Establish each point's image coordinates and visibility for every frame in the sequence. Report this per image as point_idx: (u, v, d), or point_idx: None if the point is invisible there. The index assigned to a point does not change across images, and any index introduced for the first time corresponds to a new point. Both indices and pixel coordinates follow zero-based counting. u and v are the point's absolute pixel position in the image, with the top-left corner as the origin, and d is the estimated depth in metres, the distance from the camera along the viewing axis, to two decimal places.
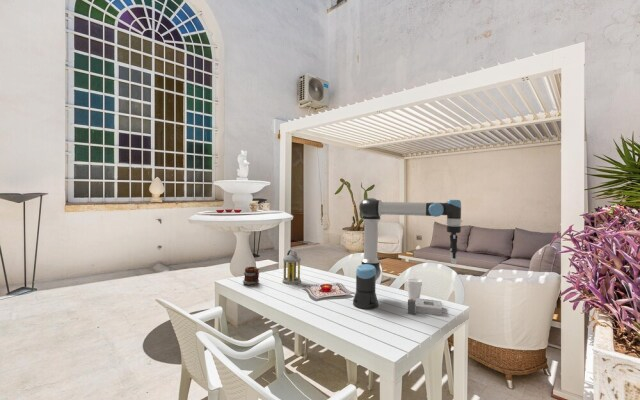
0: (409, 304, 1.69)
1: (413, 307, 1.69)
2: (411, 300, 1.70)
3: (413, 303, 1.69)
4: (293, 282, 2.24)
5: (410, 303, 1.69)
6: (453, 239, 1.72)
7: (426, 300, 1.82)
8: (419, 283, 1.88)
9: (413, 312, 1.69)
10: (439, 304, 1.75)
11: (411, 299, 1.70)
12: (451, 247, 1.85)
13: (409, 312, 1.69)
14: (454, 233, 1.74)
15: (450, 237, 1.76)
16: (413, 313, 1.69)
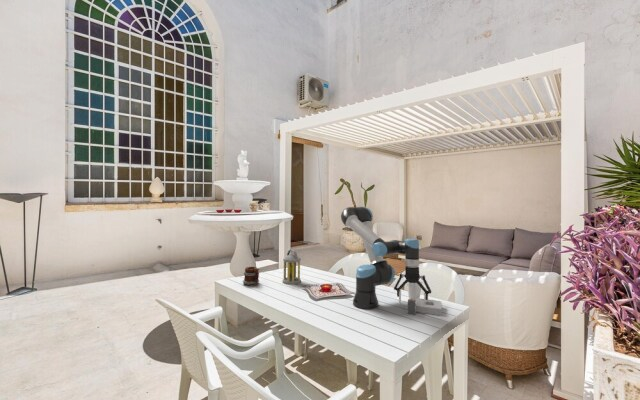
0: (409, 304, 1.69)
1: (413, 307, 1.68)
2: (411, 300, 1.70)
3: (413, 303, 1.68)
4: (293, 282, 2.24)
5: (410, 303, 1.69)
6: None
7: (426, 300, 1.82)
8: None
9: (413, 312, 1.69)
10: (439, 304, 1.75)
11: (411, 299, 1.70)
12: None
13: (409, 312, 1.69)
14: (405, 273, 1.72)
15: None
16: (413, 313, 1.69)
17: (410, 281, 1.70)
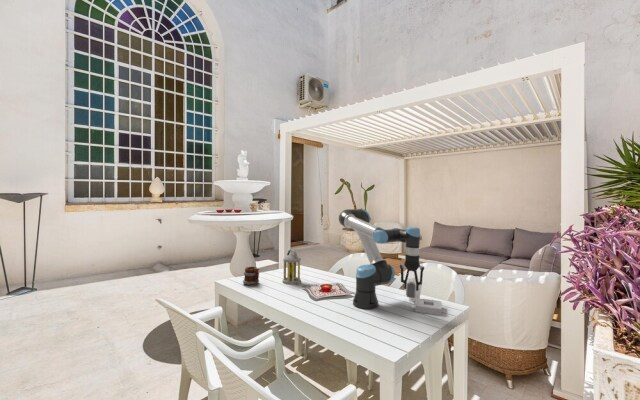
0: (409, 287, 1.69)
1: (413, 290, 1.69)
2: (411, 283, 1.70)
3: (413, 286, 1.69)
4: (293, 282, 2.24)
5: (410, 286, 1.69)
6: None
7: (426, 300, 1.82)
8: None
9: (413, 295, 1.69)
10: (439, 304, 1.75)
11: (411, 282, 1.70)
12: (416, 283, 1.71)
13: (409, 295, 1.69)
14: None
15: None
16: (413, 296, 1.69)
17: (410, 269, 1.70)
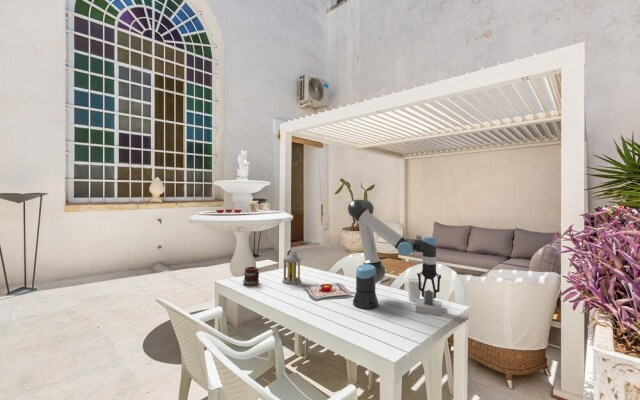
0: (427, 295, 1.75)
1: (431, 298, 1.74)
2: (428, 291, 1.76)
3: (430, 294, 1.74)
4: (293, 282, 2.24)
5: (428, 294, 1.75)
6: None
7: None
8: None
9: (431, 302, 1.74)
10: (439, 304, 1.75)
11: (428, 290, 1.76)
12: None
13: (427, 303, 1.75)
14: None
15: None
16: (431, 303, 1.74)
17: (427, 277, 1.76)
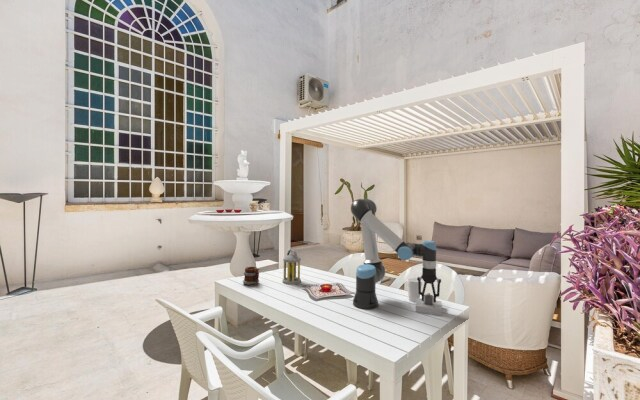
0: (426, 299, 1.75)
1: (430, 302, 1.74)
2: (428, 295, 1.76)
3: (430, 298, 1.74)
4: (293, 282, 2.24)
5: (427, 298, 1.75)
6: None
7: None
8: None
9: None
10: (439, 304, 1.75)
11: (428, 294, 1.76)
12: None
13: None
14: None
15: None
16: None
17: (427, 282, 1.76)
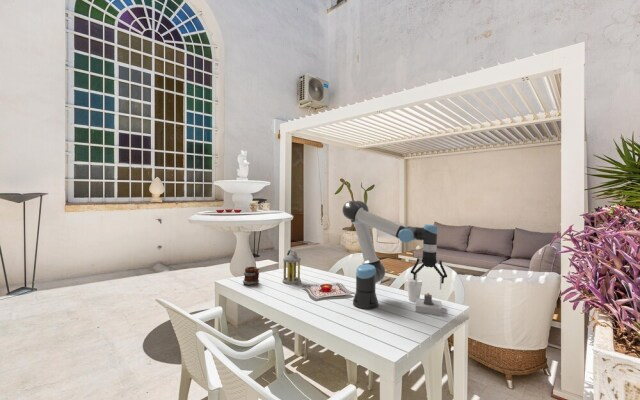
0: (426, 299, 1.75)
1: (430, 301, 1.75)
2: (428, 295, 1.76)
3: (430, 298, 1.75)
4: (293, 282, 2.24)
5: (427, 298, 1.75)
6: None
7: None
8: (419, 283, 1.88)
9: None
10: (439, 304, 1.75)
11: (428, 294, 1.76)
12: None
13: None
14: None
15: None
16: None
17: (427, 265, 1.76)
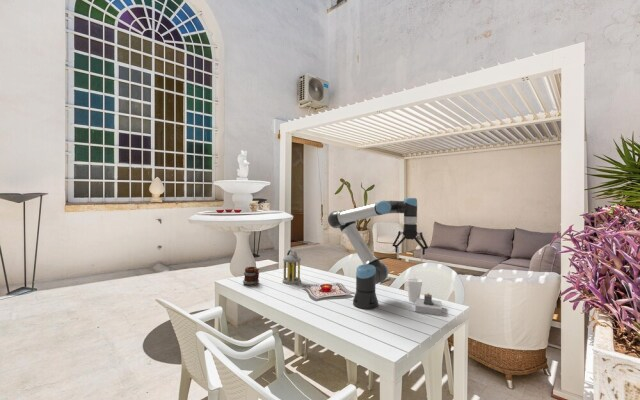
0: (426, 299, 1.75)
1: (430, 301, 1.75)
2: (428, 295, 1.76)
3: (430, 298, 1.75)
4: (293, 282, 2.24)
5: (427, 298, 1.75)
6: (398, 234, 1.82)
7: None
8: (419, 283, 1.88)
9: None
10: (439, 304, 1.75)
11: (428, 294, 1.76)
12: None
13: None
14: None
15: None
16: None
17: (408, 237, 1.79)
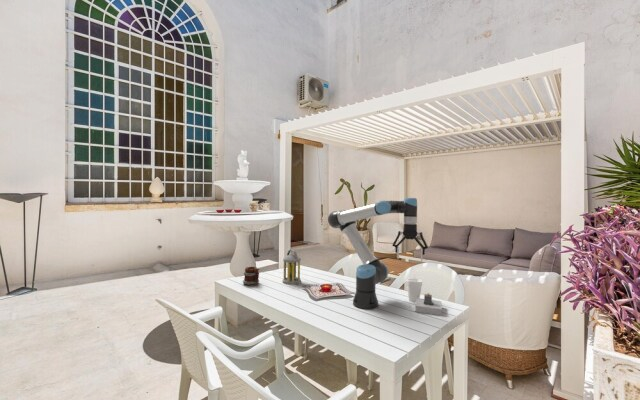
0: (426, 299, 1.75)
1: (430, 301, 1.75)
2: (428, 295, 1.76)
3: (430, 298, 1.75)
4: (293, 282, 2.24)
5: (427, 298, 1.75)
6: (398, 234, 1.82)
7: None
8: (419, 283, 1.88)
9: None
10: (439, 304, 1.75)
11: (428, 294, 1.76)
12: None
13: None
14: None
15: None
16: None
17: (408, 237, 1.79)
